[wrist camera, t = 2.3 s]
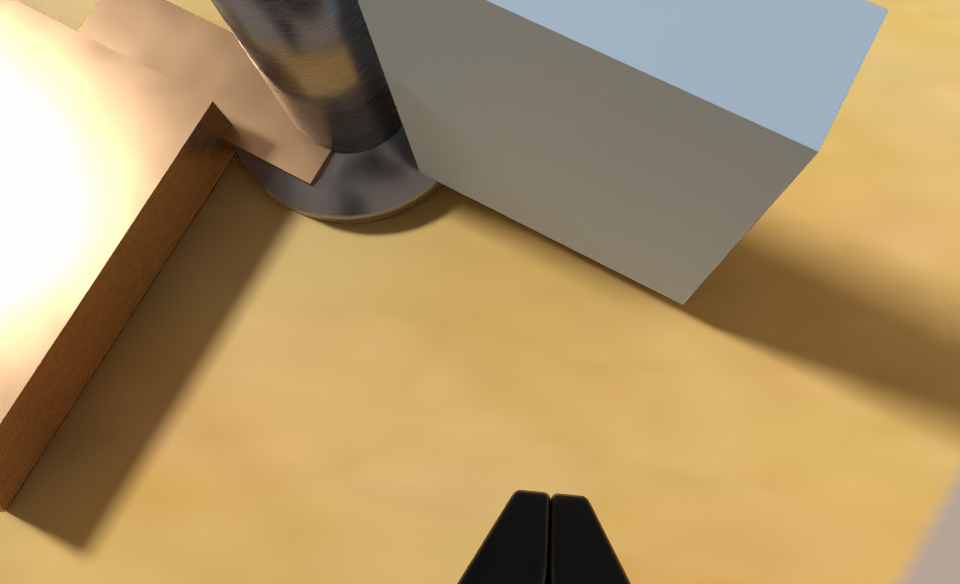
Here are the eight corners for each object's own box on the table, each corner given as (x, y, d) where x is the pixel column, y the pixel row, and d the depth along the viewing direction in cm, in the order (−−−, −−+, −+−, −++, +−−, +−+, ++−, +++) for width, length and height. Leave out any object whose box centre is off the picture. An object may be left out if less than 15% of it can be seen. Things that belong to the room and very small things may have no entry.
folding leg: (312, 118, 18) (146, -154, 10) (356, 48, 19) (228, -266, 11) (682, 305, 17) (819, 151, 9) (723, 225, 17) (888, 9, 9)
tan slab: (188, 630, 17) (-46, 735, 10) (-316, 303, 19) (-780, 208, 12) (523, 56, 19) (519, -172, 13) (40, -168, 22) (-183, -461, 15)
